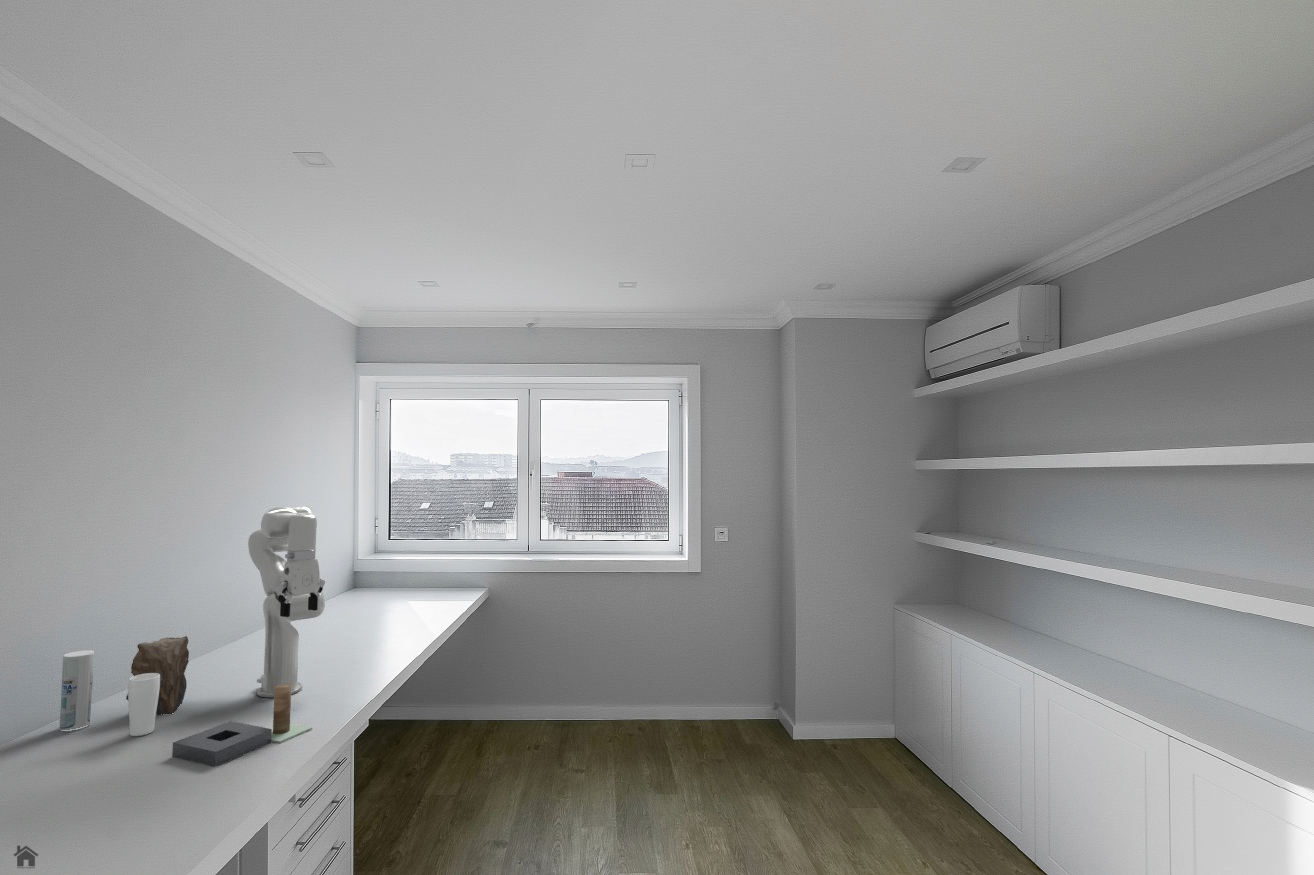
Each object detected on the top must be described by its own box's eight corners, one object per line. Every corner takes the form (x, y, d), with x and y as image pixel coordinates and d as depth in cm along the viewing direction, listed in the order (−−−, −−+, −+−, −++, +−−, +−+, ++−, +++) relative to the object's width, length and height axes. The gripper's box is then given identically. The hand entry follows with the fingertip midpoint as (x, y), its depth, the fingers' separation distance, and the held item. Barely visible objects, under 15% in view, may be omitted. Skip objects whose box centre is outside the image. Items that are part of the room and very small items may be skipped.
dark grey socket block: (172, 757, 161) (172, 742, 162) (230, 734, 175) (230, 721, 176) (215, 766, 156) (215, 751, 156) (271, 742, 170) (271, 729, 170)
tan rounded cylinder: (280, 735, 174) (281, 689, 175) (269, 732, 175) (270, 687, 176) (293, 729, 178) (294, 684, 178) (282, 727, 179) (283, 683, 180)
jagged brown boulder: (123, 717, 187) (127, 646, 188) (149, 701, 199) (153, 635, 200) (172, 715, 189) (175, 645, 190) (195, 699, 201) (198, 634, 202)
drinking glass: (122, 740, 171) (125, 681, 172) (129, 730, 177) (132, 674, 178) (154, 735, 174) (157, 678, 175) (160, 726, 180) (162, 671, 181)
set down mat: (249, 737, 174) (249, 735, 174) (282, 723, 183) (282, 721, 183) (279, 743, 170) (279, 741, 170) (312, 729, 179) (312, 727, 179)
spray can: (53, 729, 177) (57, 655, 178) (81, 721, 183) (85, 649, 184) (67, 733, 175) (71, 657, 176) (95, 725, 181) (99, 651, 182)
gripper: (285, 560, 187) (283, 620, 186) (334, 553, 203) (332, 608, 202) (266, 558, 190) (263, 618, 189) (315, 552, 206) (313, 606, 205)
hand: (299, 613), depth 196 cm, fingers open, 9 cm apart
